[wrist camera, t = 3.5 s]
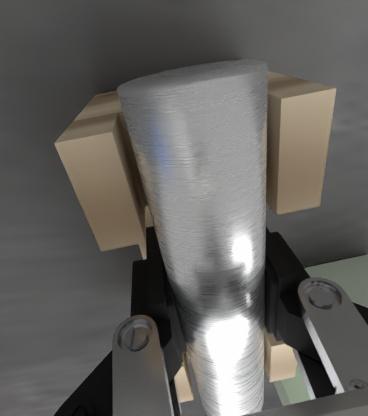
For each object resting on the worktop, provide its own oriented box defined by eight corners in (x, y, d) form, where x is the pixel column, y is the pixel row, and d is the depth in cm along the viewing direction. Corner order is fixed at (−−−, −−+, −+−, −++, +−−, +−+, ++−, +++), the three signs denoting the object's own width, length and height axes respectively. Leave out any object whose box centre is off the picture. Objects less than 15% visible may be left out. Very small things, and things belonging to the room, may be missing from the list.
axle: (121, 78, 7) (109, 103, 4) (239, 56, 7) (298, 66, 4) (195, 366, 14) (207, 436, 12) (250, 354, 14) (274, 421, 12)
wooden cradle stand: (95, 94, 10) (53, 143, 5) (246, 65, 11) (336, 87, 6) (160, 301, 17) (168, 405, 12) (251, 281, 17) (295, 376, 12)
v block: (271, 274, 17) (318, 359, 13) (367, 254, 17) (447, 330, 13) (268, 369, 24) (298, 446, 19) (338, 353, 24) (384, 426, 19)
